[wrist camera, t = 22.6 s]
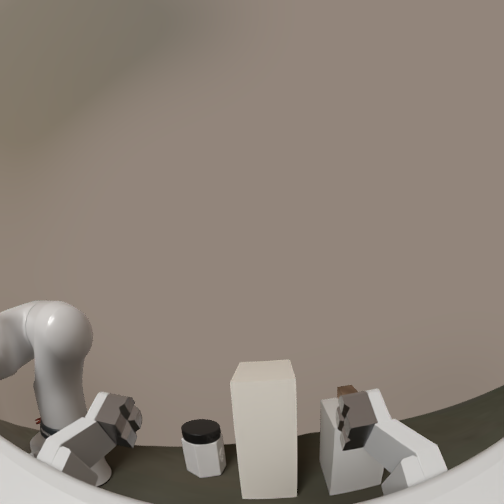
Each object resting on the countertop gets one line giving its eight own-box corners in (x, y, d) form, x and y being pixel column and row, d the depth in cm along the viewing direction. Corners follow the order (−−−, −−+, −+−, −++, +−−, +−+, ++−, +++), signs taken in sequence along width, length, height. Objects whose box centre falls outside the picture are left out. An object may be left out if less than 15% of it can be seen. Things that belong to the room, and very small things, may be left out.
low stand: (329, 495, 32) (334, 428, 35) (319, 460, 46) (320, 399, 49) (380, 484, 31) (391, 416, 34) (361, 452, 45) (365, 392, 48)
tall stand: (242, 498, 34) (230, 382, 38) (248, 463, 48) (240, 362, 52) (296, 496, 33) (295, 378, 38) (292, 461, 47) (289, 359, 52)
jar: (219, 480, 40) (212, 437, 42) (183, 475, 42) (174, 432, 44) (229, 460, 49) (224, 419, 51) (197, 456, 50) (190, 416, 52)
